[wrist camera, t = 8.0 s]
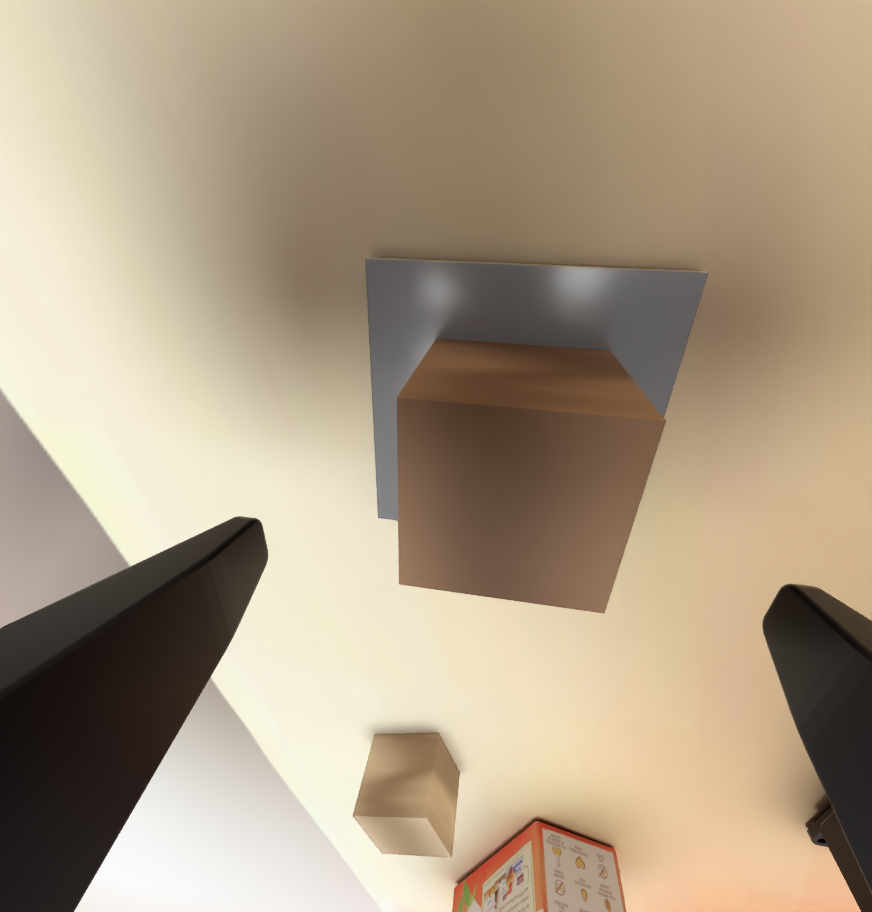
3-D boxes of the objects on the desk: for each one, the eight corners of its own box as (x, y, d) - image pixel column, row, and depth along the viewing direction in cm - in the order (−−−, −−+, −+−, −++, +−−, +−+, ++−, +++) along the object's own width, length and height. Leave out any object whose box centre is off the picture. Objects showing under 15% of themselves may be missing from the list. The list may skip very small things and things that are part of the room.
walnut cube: (610, 350, 12) (665, 421, 8) (576, 496, 14) (604, 613, 10) (436, 338, 13) (396, 397, 8) (431, 480, 15) (399, 584, 11)
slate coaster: (699, 270, 11) (708, 272, 11) (619, 536, 16) (623, 547, 15) (371, 257, 12) (365, 258, 12) (382, 508, 17) (378, 517, 16)
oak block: (439, 731, 24) (426, 818, 20) (459, 771, 25) (451, 857, 22) (374, 733, 25) (352, 816, 21) (398, 770, 26) (381, 853, 23)
